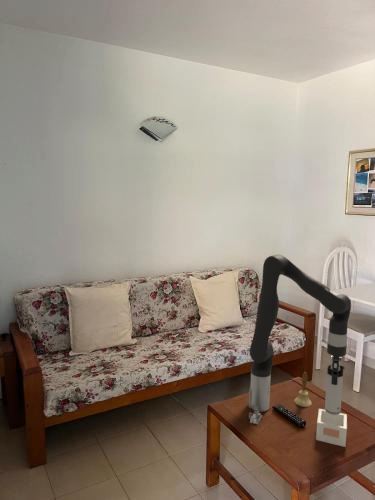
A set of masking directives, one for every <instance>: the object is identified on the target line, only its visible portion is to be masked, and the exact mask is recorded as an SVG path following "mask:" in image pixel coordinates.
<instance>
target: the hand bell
mask: <svg viewBox="0 0 375 500" xmlns="http://www.w3.org/2000/svg"><path fill="white" fill-rule="evenodd" d="M301 382H302V385H301V386H302V387H301V390H299V391H298V393H297V394H298V395H297V397H296V398H294V400H293V401H294V403H295V404H296V405H297V406H300V407H304V408H308V407H311V406H312V405H313V404H312V401H311V400H310V397H309V392H308V391H306V389H307V382H308V374H307V372H306V371H304V372H303V374H302V377H301Z"/></svg>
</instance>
